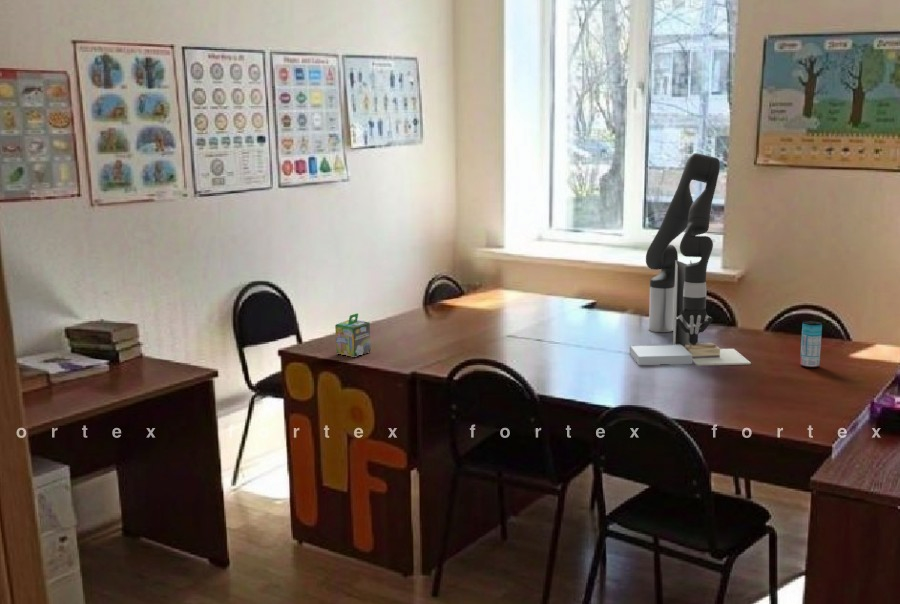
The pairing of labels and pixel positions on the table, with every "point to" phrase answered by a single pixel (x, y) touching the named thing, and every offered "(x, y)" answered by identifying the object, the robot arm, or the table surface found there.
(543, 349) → the table surface
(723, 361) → the mat
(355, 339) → the chalk box
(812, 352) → the beverage can
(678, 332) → the grey panel
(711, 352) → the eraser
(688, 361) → the large white box
